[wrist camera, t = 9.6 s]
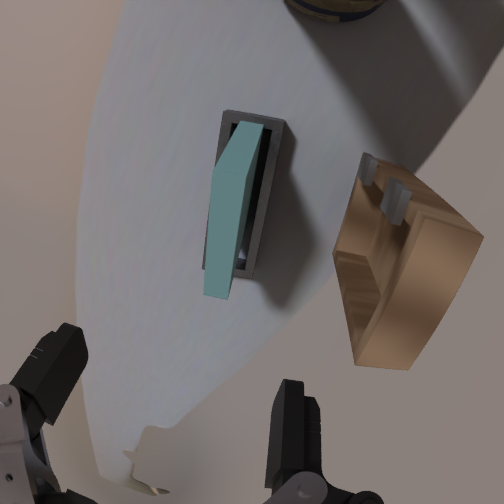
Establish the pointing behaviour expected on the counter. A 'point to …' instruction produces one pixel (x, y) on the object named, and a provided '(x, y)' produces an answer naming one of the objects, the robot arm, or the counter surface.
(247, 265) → the grey rectangular frame
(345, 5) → the canister
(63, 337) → the robot arm
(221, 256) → the door panel
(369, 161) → the cabinet
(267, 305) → the counter surface
